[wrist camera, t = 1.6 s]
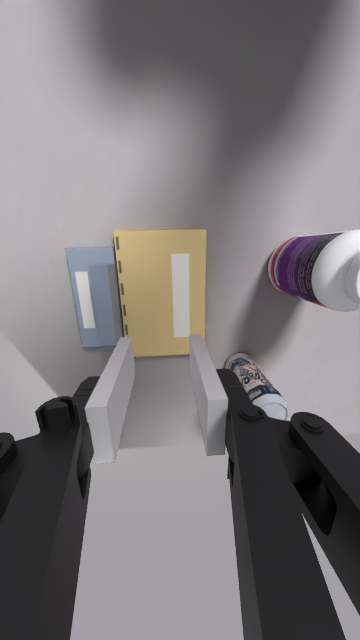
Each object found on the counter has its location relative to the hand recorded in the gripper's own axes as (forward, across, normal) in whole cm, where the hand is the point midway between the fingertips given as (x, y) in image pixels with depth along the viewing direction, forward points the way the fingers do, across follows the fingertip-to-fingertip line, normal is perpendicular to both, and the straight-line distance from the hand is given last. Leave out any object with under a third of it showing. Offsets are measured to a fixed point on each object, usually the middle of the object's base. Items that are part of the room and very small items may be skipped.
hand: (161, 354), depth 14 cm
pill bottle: (+19, +19, +4) cm, 27 cm away
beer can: (+19, +12, -12) cm, 25 cm away
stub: (+18, -9, 0) cm, 21 cm away
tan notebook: (+19, 0, 0) cm, 19 cm away
